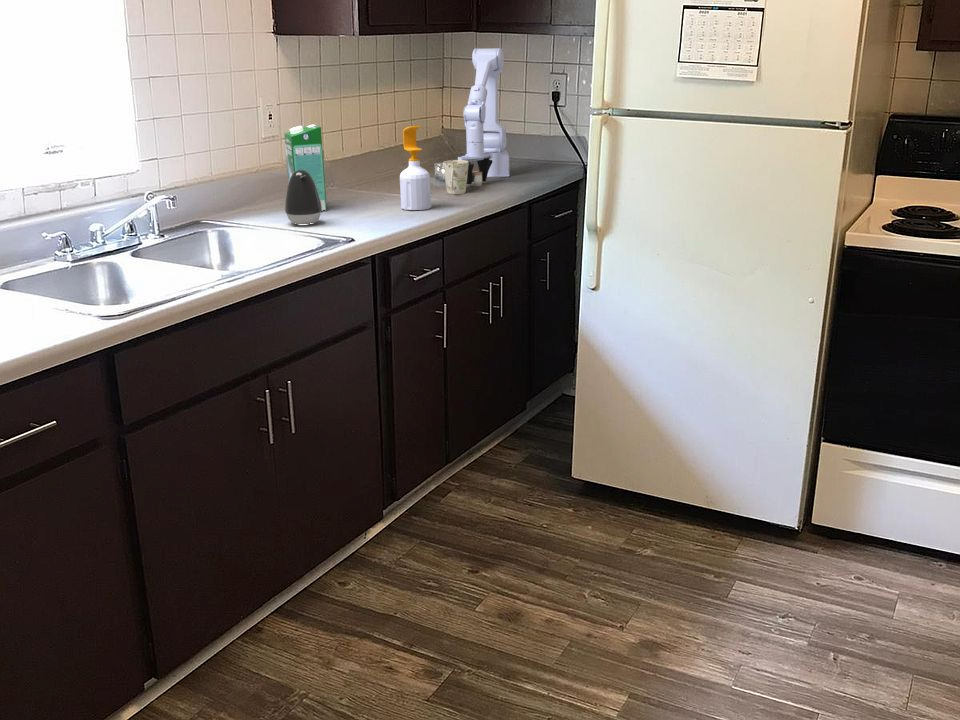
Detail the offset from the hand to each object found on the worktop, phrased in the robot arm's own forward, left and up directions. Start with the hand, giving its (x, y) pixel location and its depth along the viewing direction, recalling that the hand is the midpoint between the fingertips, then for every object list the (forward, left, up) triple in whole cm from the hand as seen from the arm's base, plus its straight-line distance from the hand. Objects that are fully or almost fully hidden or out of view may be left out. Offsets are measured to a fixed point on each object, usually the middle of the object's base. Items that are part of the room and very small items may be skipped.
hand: (475, 182), depth 329 cm
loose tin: (0, 0, -2) cm, 2 cm away
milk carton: (+59, +19, -2) cm, 62 cm away
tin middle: (+7, -13, -1) cm, 15 cm away
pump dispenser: (+63, +39, -2) cm, 74 cm away
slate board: (+7, -12, -1) cm, 14 cm away
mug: (+10, +10, -2) cm, 14 cm away
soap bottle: (+28, +29, -2) cm, 40 cm away
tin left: (+7, -19, -1) cm, 20 cm away
